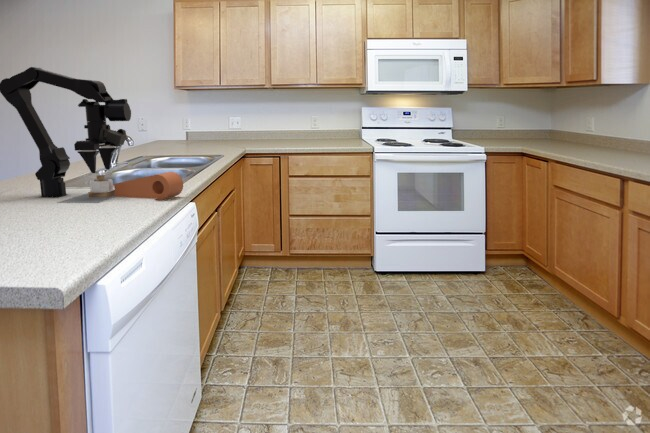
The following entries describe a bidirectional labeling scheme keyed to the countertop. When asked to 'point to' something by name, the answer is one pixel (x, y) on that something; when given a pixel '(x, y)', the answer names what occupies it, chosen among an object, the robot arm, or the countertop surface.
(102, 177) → the tan stamp
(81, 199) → the mat
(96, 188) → the collar
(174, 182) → the crank
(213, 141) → the countertop surface
